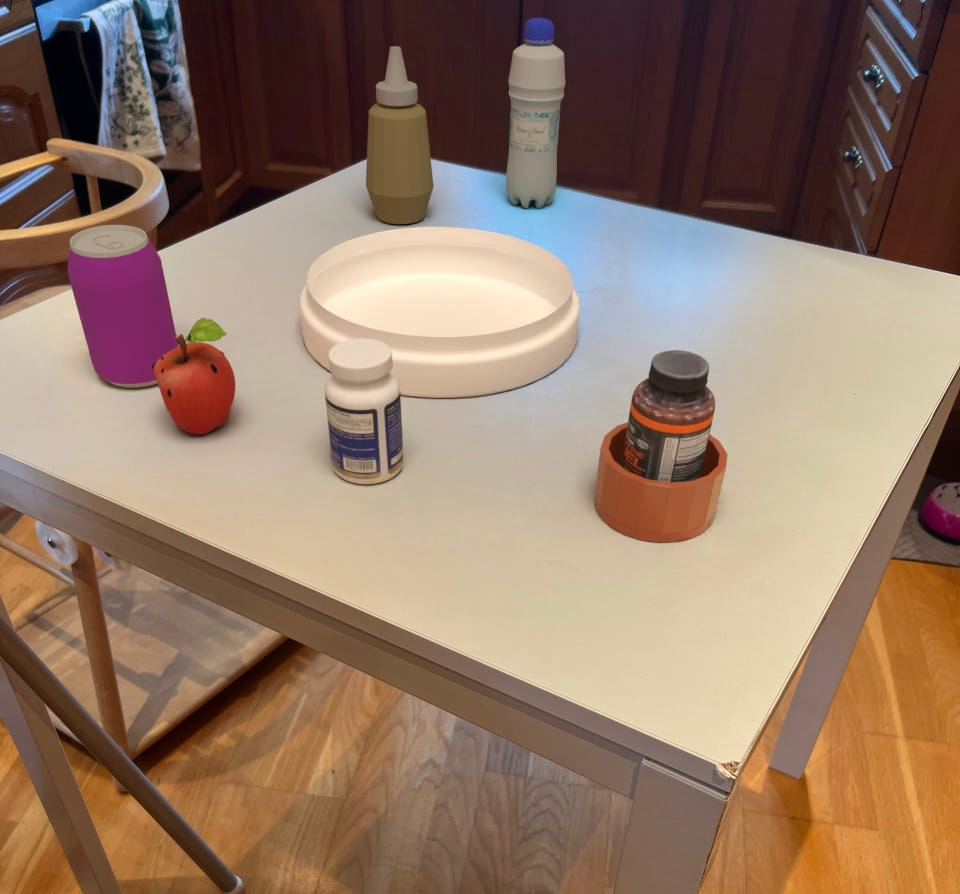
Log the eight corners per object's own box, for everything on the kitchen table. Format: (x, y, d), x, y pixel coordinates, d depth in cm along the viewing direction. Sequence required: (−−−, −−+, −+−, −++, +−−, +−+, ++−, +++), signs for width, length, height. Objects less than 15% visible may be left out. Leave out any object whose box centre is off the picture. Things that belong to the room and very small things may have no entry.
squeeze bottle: (443, 225, 116) (442, 54, 104) (378, 232, 114) (370, 58, 102) (421, 202, 122) (418, 37, 109) (359, 209, 119) (349, 41, 107)
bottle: (497, 207, 121) (503, 21, 107) (511, 190, 126) (519, 9, 112) (549, 214, 120) (562, 26, 106) (561, 196, 124) (576, 14, 111)
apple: (146, 442, 80) (118, 327, 73) (180, 401, 85) (156, 290, 78) (235, 453, 79) (215, 337, 72) (264, 411, 84) (248, 299, 77)
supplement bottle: (603, 483, 76) (622, 348, 68) (671, 470, 77) (696, 336, 70) (639, 527, 72) (662, 388, 64) (709, 512, 73) (740, 375, 65)
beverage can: (199, 373, 88) (174, 240, 80) (123, 401, 84) (88, 264, 76) (154, 344, 92) (126, 214, 84) (80, 369, 88) (42, 236, 80)
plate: (470, 256, 110) (471, 206, 106) (633, 349, 94) (641, 294, 90) (254, 313, 98) (246, 259, 94) (400, 430, 82) (398, 371, 78)
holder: (718, 483, 78) (730, 428, 74) (709, 551, 71) (722, 495, 68) (604, 465, 79) (611, 411, 76) (585, 531, 72) (592, 474, 69)
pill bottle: (378, 440, 81) (372, 327, 74) (417, 471, 78) (414, 356, 71) (318, 462, 78) (306, 347, 71) (356, 495, 75) (347, 378, 68)
